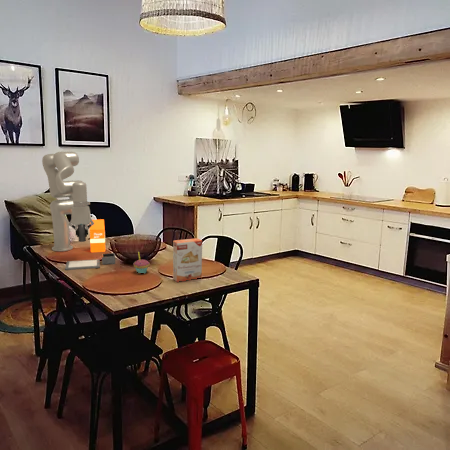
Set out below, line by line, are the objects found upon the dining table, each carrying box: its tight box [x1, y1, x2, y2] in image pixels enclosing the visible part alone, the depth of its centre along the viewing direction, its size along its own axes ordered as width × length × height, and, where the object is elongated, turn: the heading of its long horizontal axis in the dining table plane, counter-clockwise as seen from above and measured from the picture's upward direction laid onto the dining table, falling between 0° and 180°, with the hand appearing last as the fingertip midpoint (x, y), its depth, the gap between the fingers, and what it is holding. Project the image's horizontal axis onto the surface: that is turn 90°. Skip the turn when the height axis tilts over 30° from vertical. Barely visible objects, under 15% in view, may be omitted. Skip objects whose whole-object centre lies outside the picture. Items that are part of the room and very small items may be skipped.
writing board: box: [64, 258, 101, 271], centre depth 246 cm, size 14×18×1 cm
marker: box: [77, 224, 87, 243], centre depth 245 cm, size 4×4×12 cm
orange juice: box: [89, 218, 106, 253], centre depth 274 cm, size 8×9×20 cm
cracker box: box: [172, 237, 203, 283], centre depth 224 cm, size 14×6×21 cm, turn 117°
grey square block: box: [101, 252, 116, 266], centre depth 251 cm, size 7×7×4 cm
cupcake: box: [132, 250, 151, 274], centre depth 234 cm, size 9×8×12 cm
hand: (82, 236), depth 246 cm, fingers closed on marker, 3 cm apart
